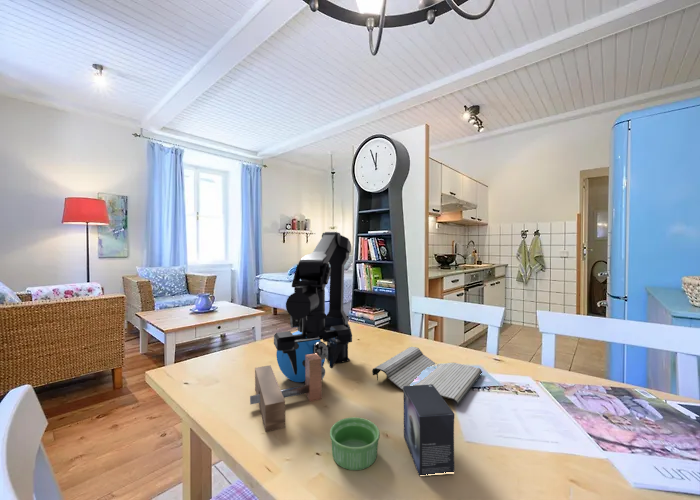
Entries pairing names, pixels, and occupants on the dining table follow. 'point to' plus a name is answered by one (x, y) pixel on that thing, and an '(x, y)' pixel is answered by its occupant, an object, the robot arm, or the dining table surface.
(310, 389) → the pin
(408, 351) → the mat
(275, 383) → the beam
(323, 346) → the alarm clock
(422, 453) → the small box
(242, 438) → the dining table surface
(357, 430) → the ramekin
